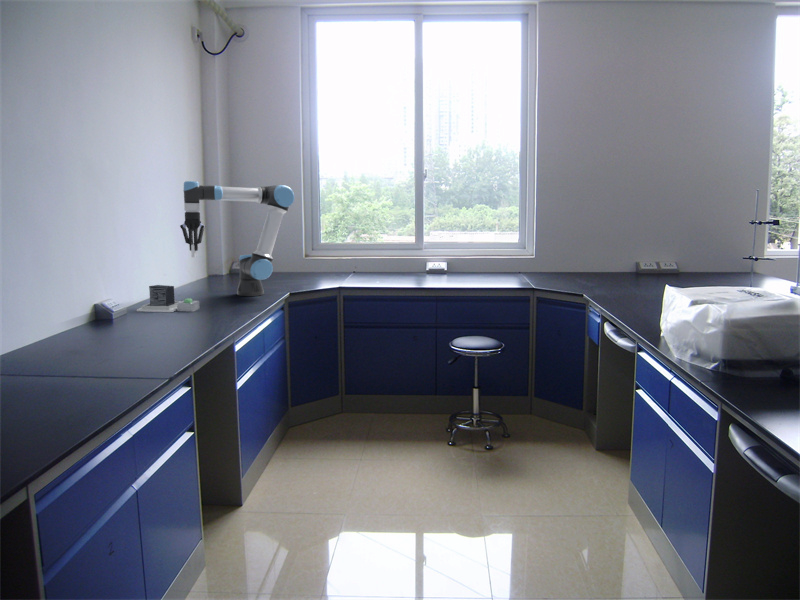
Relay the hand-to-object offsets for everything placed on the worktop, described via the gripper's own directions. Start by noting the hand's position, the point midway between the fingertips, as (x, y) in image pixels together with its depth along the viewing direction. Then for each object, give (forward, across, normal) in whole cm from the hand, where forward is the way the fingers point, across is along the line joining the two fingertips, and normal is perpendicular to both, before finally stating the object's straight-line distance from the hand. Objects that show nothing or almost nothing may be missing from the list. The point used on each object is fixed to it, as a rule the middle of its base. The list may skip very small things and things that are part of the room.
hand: (194, 256), depth 326 cm
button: (+23, -4, +20) cm, 31 cm away
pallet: (+24, +10, +18) cm, 32 cm away
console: (+24, -4, +20) cm, 32 cm away
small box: (+24, +10, +18) cm, 31 cm away
